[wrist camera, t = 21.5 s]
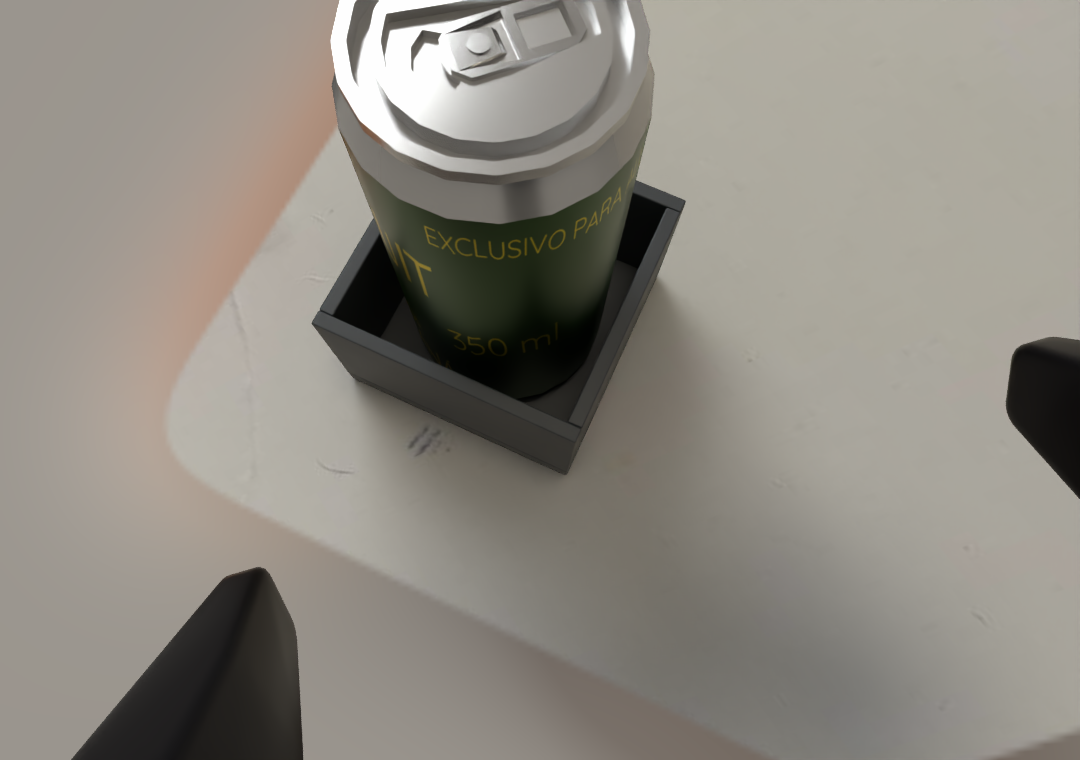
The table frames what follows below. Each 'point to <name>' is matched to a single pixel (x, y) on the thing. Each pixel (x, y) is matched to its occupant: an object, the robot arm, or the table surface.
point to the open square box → (517, 424)
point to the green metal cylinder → (497, 168)
